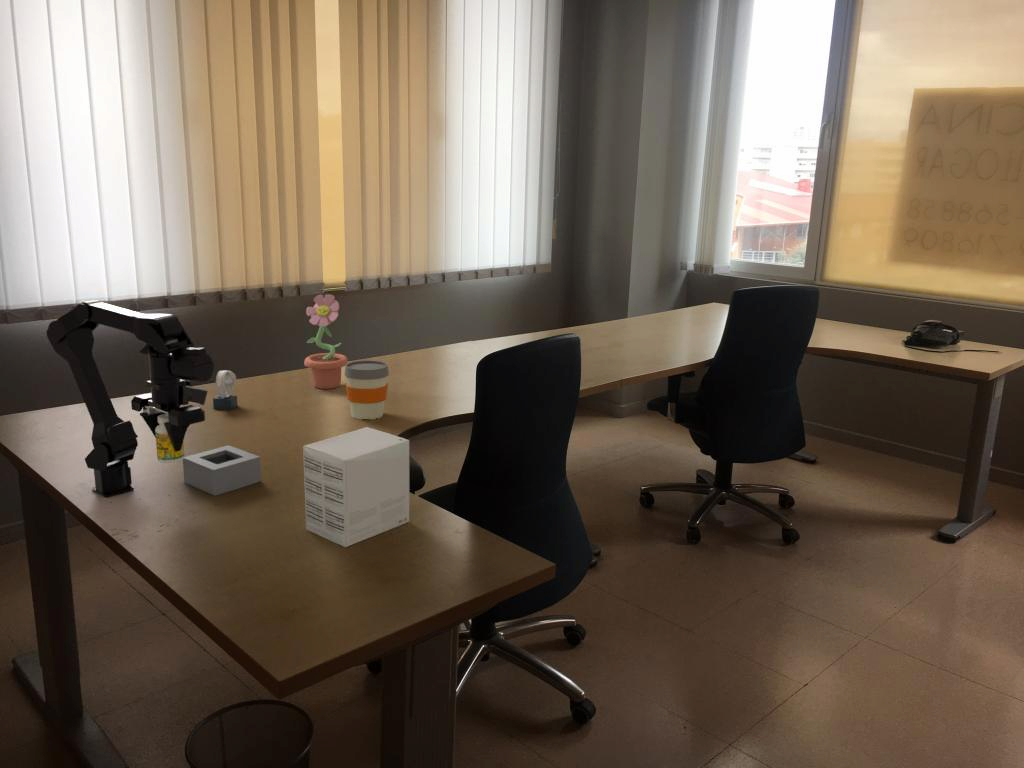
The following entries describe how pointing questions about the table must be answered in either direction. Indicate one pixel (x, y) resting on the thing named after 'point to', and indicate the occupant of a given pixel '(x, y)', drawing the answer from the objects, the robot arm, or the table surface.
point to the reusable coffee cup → (366, 388)
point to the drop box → (221, 470)
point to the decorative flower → (325, 345)
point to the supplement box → (356, 485)
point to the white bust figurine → (225, 391)
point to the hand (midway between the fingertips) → (170, 447)
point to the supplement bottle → (166, 443)
